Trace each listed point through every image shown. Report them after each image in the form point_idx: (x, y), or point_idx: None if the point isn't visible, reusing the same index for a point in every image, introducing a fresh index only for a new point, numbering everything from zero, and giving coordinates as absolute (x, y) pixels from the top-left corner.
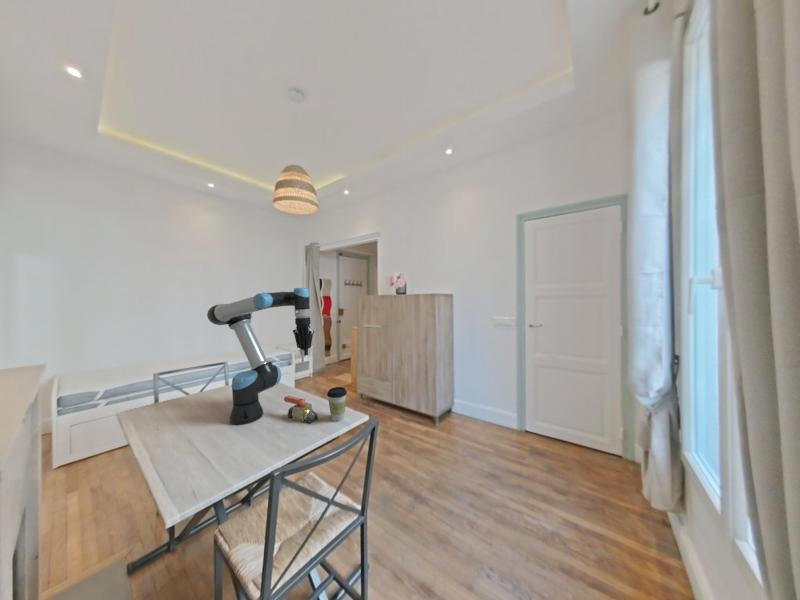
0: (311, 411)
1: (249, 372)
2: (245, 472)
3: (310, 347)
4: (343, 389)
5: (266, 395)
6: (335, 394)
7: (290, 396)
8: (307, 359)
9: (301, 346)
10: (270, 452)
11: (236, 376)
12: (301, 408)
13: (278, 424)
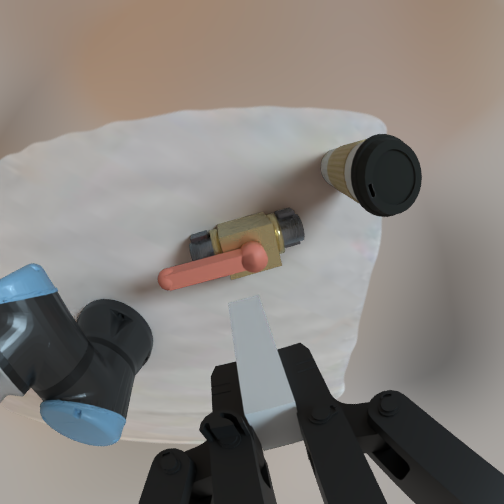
0: (284, 230)
1: (63, 421)
2: (330, 381)
3: (397, 397)
4: (410, 157)
5: (7, 238)
6: (409, 205)
7: (180, 274)
8: (260, 302)
9: (271, 485)
10: (320, 348)
11: (77, 440)
12: (273, 267)
13: (219, 299)
